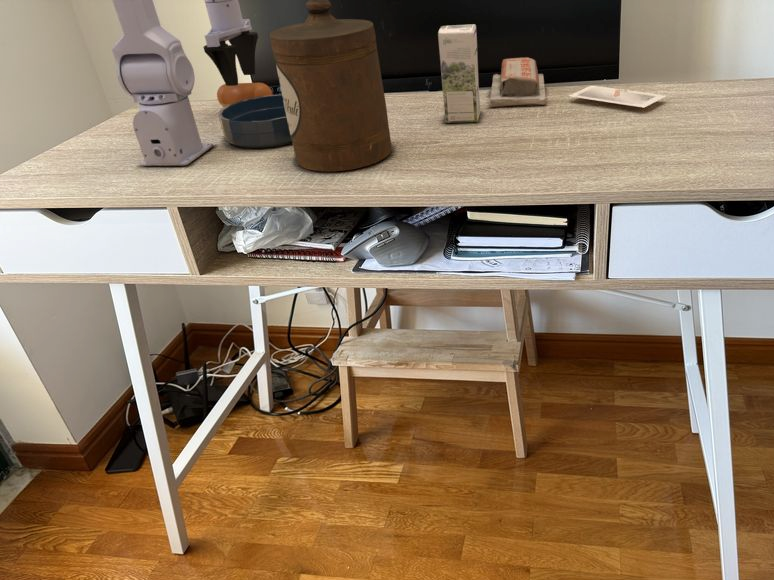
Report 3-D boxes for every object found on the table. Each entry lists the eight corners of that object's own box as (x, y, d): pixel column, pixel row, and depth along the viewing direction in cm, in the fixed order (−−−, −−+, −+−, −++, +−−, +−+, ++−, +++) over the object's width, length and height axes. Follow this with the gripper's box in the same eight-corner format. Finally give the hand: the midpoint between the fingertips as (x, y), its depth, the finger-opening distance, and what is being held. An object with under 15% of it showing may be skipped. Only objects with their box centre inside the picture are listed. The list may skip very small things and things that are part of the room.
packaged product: (492, 56, 132) (543, 54, 131) (493, 82, 135) (543, 80, 134) (488, 80, 117) (546, 77, 116) (489, 108, 120) (546, 106, 119)
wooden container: (309, 141, 111) (279, -8, 99) (398, 137, 110) (379, -14, 97) (284, 175, 99) (246, 9, 87) (383, 170, 98) (360, 2, 85)
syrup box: (481, 112, 118) (476, 22, 110) (478, 123, 114) (473, 29, 105) (448, 114, 119) (441, 24, 111) (444, 124, 114) (437, 31, 106)
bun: (279, 104, 132) (273, 79, 129) (269, 111, 128) (264, 86, 126) (227, 105, 134) (220, 81, 131) (216, 112, 130) (209, 87, 127)
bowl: (301, 149, 108) (295, 121, 106) (209, 150, 111) (201, 122, 109) (332, 119, 121) (328, 93, 119) (249, 120, 124) (243, 95, 121)
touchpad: (643, 114, 112) (644, 100, 111) (567, 102, 120) (568, 89, 119) (666, 102, 117) (667, 89, 115) (591, 91, 125) (592, 79, 124)
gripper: (223, 6, 114) (244, 89, 122) (258, -8, 125) (275, 69, 133) (185, 8, 115) (208, 90, 123) (223, -6, 126) (242, 70, 134)
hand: (241, 79), depth 128 cm, fingers open, 7 cm apart
